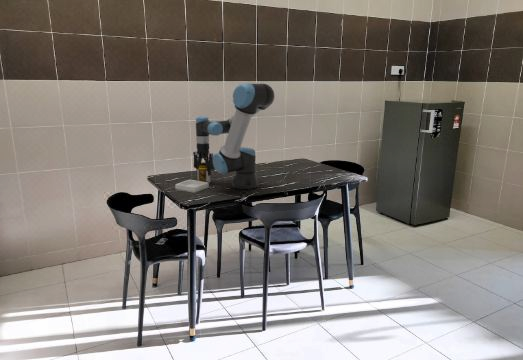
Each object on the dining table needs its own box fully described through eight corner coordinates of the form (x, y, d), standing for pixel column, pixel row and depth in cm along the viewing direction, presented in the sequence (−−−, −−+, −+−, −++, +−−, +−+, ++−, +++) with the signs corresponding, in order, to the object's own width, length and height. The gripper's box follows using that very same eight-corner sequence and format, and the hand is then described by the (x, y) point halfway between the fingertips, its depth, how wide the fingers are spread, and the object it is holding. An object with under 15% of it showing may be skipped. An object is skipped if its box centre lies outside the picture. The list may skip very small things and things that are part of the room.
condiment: (203, 184, 238) (203, 164, 235) (193, 182, 243) (193, 162, 240) (212, 181, 244) (211, 162, 241) (201, 179, 249) (201, 161, 246)
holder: (208, 187, 231) (208, 182, 230) (194, 192, 220) (194, 187, 219) (189, 184, 238) (189, 179, 237) (175, 189, 227) (175, 184, 226)
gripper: (219, 143, 236) (220, 180, 241) (194, 140, 245) (195, 176, 250) (212, 145, 229) (212, 183, 235) (186, 142, 238) (187, 179, 244)
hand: (203, 179), depth 243 cm, fingers closed on condiment, 6 cm apart
